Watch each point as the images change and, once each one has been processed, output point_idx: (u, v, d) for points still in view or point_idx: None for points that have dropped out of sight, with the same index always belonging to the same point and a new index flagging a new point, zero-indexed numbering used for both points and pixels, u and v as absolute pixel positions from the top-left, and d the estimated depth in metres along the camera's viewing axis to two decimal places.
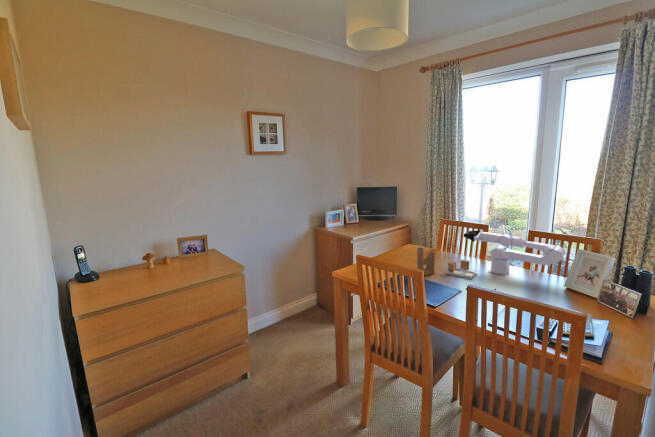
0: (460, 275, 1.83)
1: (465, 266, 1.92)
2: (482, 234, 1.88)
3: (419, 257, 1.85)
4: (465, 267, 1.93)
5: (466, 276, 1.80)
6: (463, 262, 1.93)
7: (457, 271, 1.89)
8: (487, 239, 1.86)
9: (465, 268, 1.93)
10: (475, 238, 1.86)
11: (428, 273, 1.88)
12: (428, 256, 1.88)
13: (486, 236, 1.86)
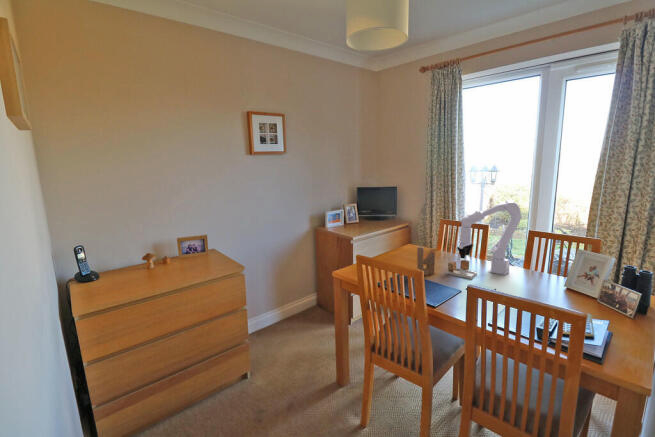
0: (460, 275, 1.83)
1: (465, 266, 1.92)
2: (461, 241, 1.91)
3: (419, 257, 1.85)
4: (465, 267, 1.93)
5: (466, 276, 1.80)
6: (463, 262, 1.93)
7: (457, 271, 1.89)
8: (465, 237, 1.88)
9: (465, 268, 1.93)
10: (460, 247, 1.87)
11: (428, 273, 1.88)
12: (428, 256, 1.88)
13: (462, 237, 1.90)
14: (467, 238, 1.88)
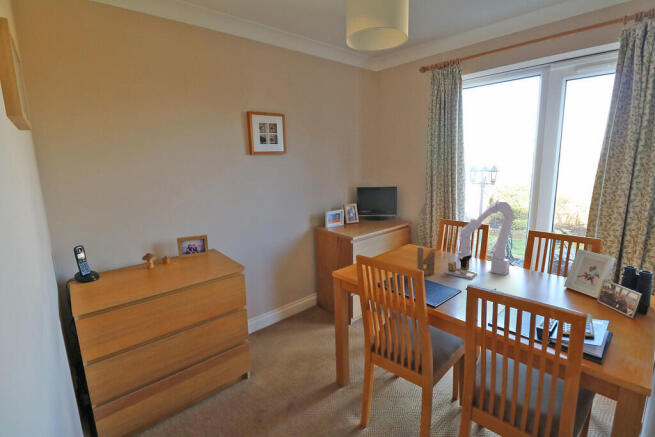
0: (460, 275, 1.83)
1: None
2: (461, 251, 1.92)
3: (419, 257, 1.85)
4: (465, 267, 1.93)
5: (466, 276, 1.80)
6: None
7: (457, 271, 1.89)
8: (465, 247, 1.90)
9: (465, 268, 1.93)
10: (460, 257, 1.88)
11: (428, 273, 1.88)
12: (428, 256, 1.88)
13: (462, 248, 1.91)
14: (467, 248, 1.89)
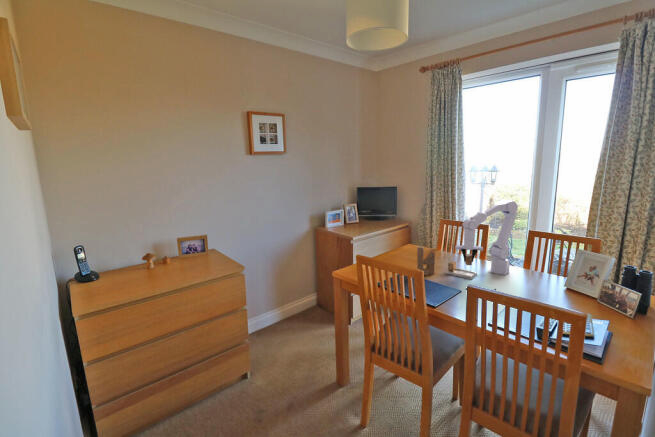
0: (460, 275, 1.83)
1: None
2: None
3: (419, 257, 1.85)
4: None
5: (466, 276, 1.80)
6: None
7: (457, 271, 1.89)
8: (464, 239, 1.80)
9: (465, 262, 1.83)
10: None
11: (428, 273, 1.88)
12: (428, 256, 1.88)
13: None
14: (465, 241, 1.79)
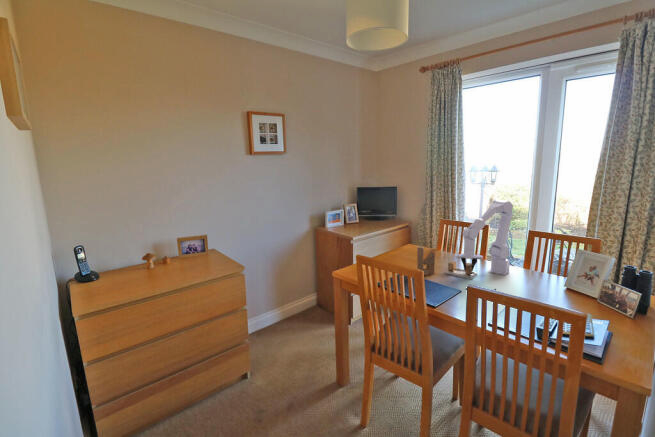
0: (460, 275, 1.83)
1: None
2: None
3: (419, 257, 1.85)
4: None
5: (466, 276, 1.80)
6: None
7: (457, 271, 1.89)
8: (464, 248, 1.81)
9: (465, 271, 1.83)
10: None
11: (428, 273, 1.88)
12: (428, 256, 1.88)
13: None
14: (465, 250, 1.80)
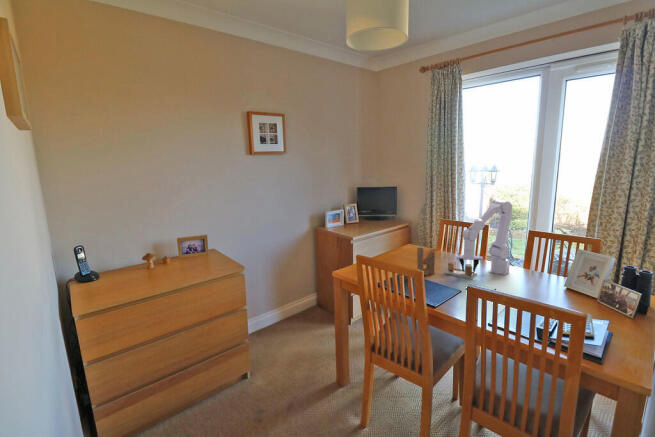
0: (460, 275, 1.83)
1: (465, 270, 1.83)
2: None
3: (419, 257, 1.85)
4: (465, 271, 1.83)
5: (466, 276, 1.80)
6: (465, 266, 1.84)
7: (457, 271, 1.89)
8: (464, 249, 1.81)
9: (465, 272, 1.83)
10: None
11: (428, 273, 1.88)
12: (428, 256, 1.88)
13: None
14: (465, 251, 1.80)
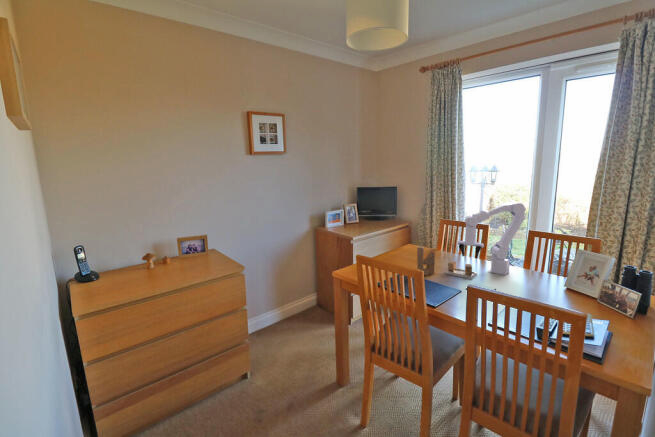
0: (460, 275, 1.83)
1: (465, 270, 1.83)
2: None
3: (419, 257, 1.85)
4: (465, 271, 1.83)
5: (466, 276, 1.80)
6: (465, 266, 1.84)
7: (457, 271, 1.89)
8: (465, 235, 1.87)
9: (465, 272, 1.83)
10: None
11: (428, 273, 1.88)
12: (428, 256, 1.88)
13: None
14: (465, 237, 1.86)
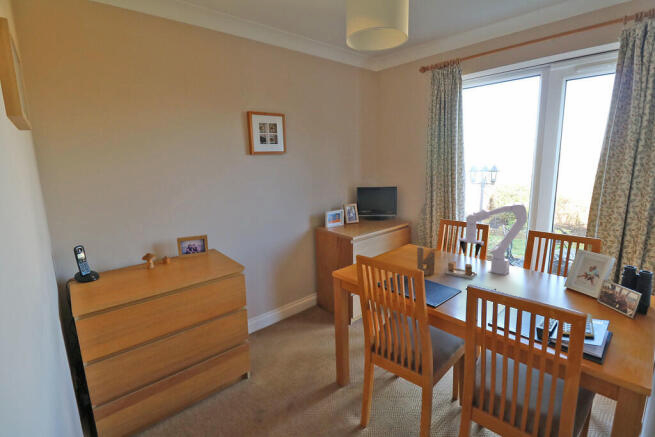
0: (460, 275, 1.83)
1: (465, 270, 1.83)
2: None
3: (419, 257, 1.85)
4: (465, 271, 1.83)
5: (466, 276, 1.80)
6: (465, 266, 1.84)
7: (457, 271, 1.89)
8: (466, 233, 1.92)
9: (465, 272, 1.83)
10: None
11: (428, 273, 1.88)
12: (428, 256, 1.88)
13: None
14: (466, 234, 1.91)
